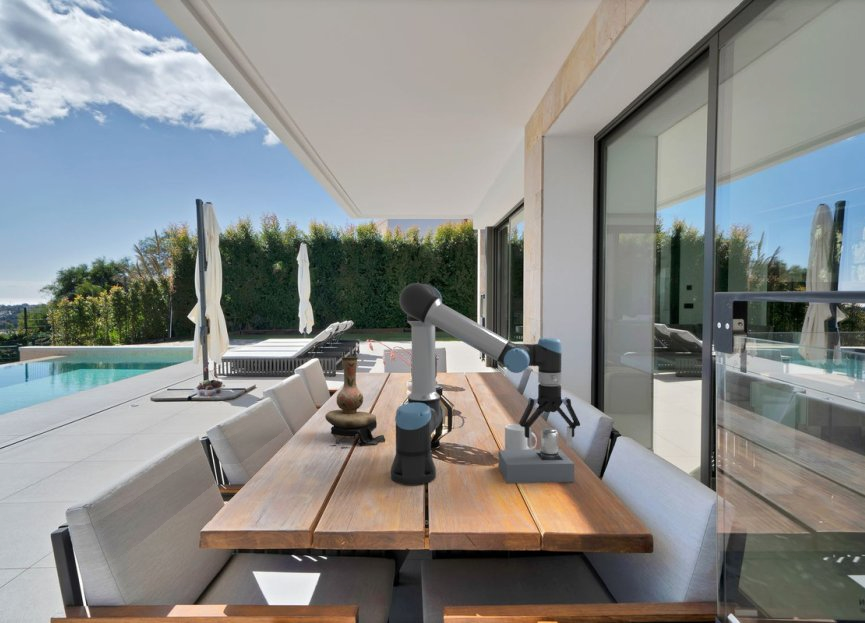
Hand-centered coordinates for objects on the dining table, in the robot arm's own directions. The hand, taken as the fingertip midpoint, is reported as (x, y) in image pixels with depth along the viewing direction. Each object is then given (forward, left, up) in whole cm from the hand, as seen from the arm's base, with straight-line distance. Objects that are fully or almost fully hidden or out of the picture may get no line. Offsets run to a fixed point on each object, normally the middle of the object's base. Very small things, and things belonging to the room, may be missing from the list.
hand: (549, 446), depth 150 cm
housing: (-5, 0, -9) cm, 10 cm away
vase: (-71, +42, -10) cm, 83 cm away
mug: (-5, +19, -10) cm, 22 cm away
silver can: (0, 0, -7) cm, 7 cm away
